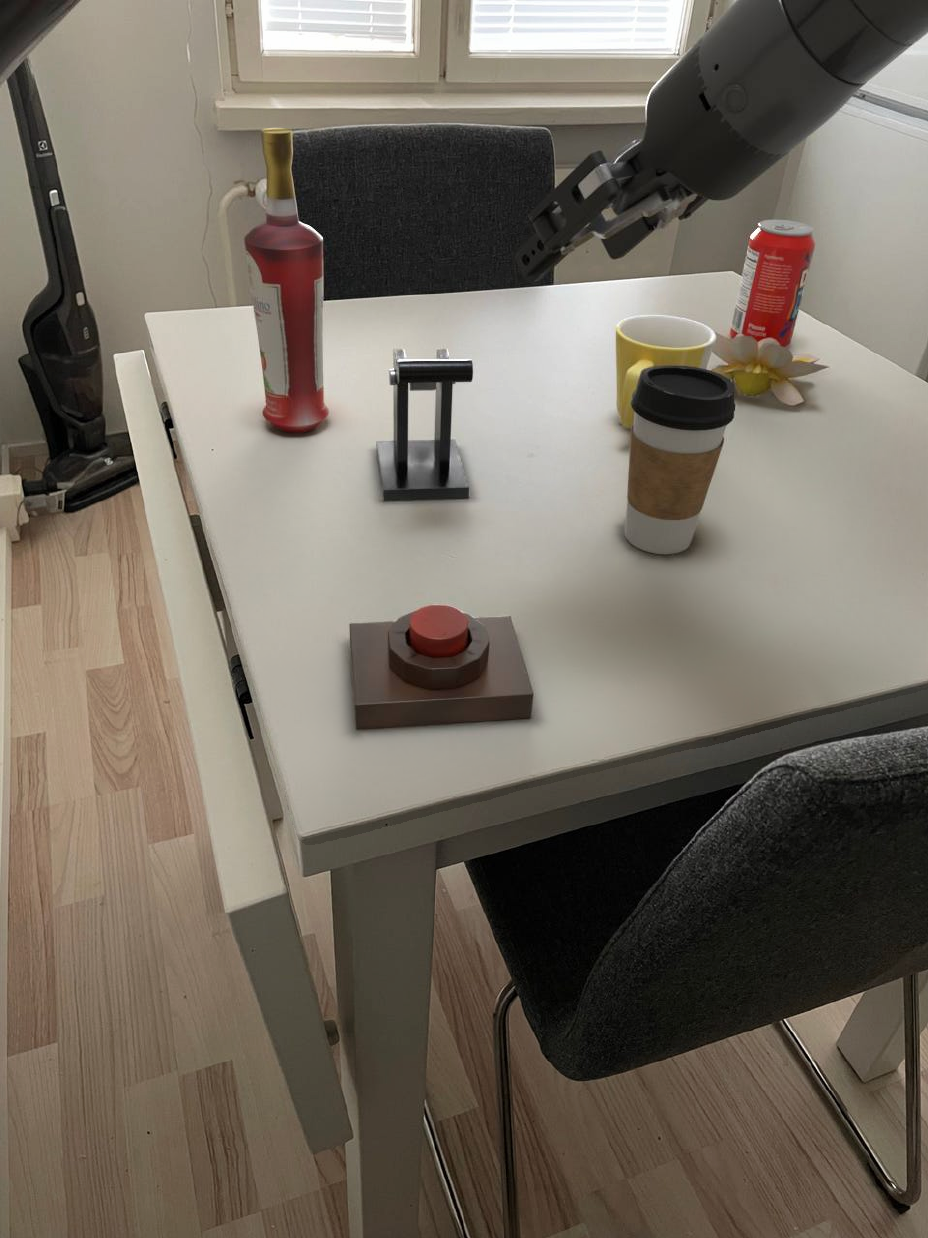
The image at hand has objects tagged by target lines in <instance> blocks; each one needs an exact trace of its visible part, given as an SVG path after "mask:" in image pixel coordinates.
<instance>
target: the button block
mask: <svg viewBox="0 0 928 1238" xmlns="http://www.w3.org/2000/svg"><path fill="white" fill-rule="evenodd" d="M415 611H416V610H414V611H410V612H409V613H406V614H403V615H402V616H399V617H398V618H397V619H396V620H392V621H391V620H389V621H371V622H369V621H368V622H350V623H348V625H349V626H348V627H349V649H350V650H349V651H350V665H351V680H352V692H353V707H354V708H353V709H354V723H355V729H356V730H362V729H376V728H377V729H378V728H393V727H395V728H396V727H408V726H410V727H411V726H423V725H439V724H455V723H471V722H472V723H473V722H486V721H502V720H504V721H505V720H519V719H531V718H532V713H533V712H532V711H533V703H534V694H535V693H534V691H533V687H532V684H531V681H530V677H529V674H528V670H527V667H526V664H525V659H524V656H523V654H522V651H521V647H520V644H519V643H520V642H519V640H518V637H517V634H516V633H517V632H516V629H515V626H514V623H513V621H512V617H511V615H493V616H475V617H474V616H472V615H471V614H470V613H467V612H464V611H462V612H463V613H464V614H465V615H466V617H467V619H468V636H467V645H466V647H465V649H464V650H463V651H462V652H461V653H460V654H458V655H455V656H453V657H448V658H431V657H427V656H424V655H421V654H418V653H417V652H415V651H414V650H413V648H412V647H411V645H410V618H411V616H412V614H413V613H414V612H415Z"/></svg>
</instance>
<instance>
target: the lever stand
mask: <svg viewBox="0 0 928 1238" xmlns="http://www.w3.org/2000/svg"><path fill="white" fill-rule="evenodd" d="M392 352H393V353H392V354H393V357H392V359H393V363H392V364H393V366H392V367H393V368H390V369H388V370H389V371H388V379H389V385H390V386H393V390H392V391H393V397H392V399H393V409H392V410H393V412H392V413H393V440H377V441H376V458H377V465H378V472H379V479H380V485H381V493H382V499H383V502H391V501H392V502H395V501H397V502H398V501H422V500H423V501H424V500H426V501H427V500H454V499H455V500H456V499H459V500H460V499H469V497H470V485H469V482H468V479H467V478H468V477H467V475H466V472H465V469H464V465H463V461H462V458H461V455H460V451H459V448H458V444H457V440H456V439H452V416H453V414H452V413H453V391H454V390H453V389H454V388H453V387H454V385H456V384H457V382H444V383H436V388H437V389H436V390H435V396H434V397H435V400H434V401H435V403H434V405H435V406H434V408H435V409H434V435H433V436H434V437H433V438H434V439H418V440H417V439H416V440H415V439H414V440H412V439H411V440H409V383H398V376H397V362H398V360H408V359H407V355H406V351H405V348H394V349H393V351H392ZM435 360H452V359H451V356H450V353H449V350H448V348H436V359H435Z"/></svg>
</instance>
